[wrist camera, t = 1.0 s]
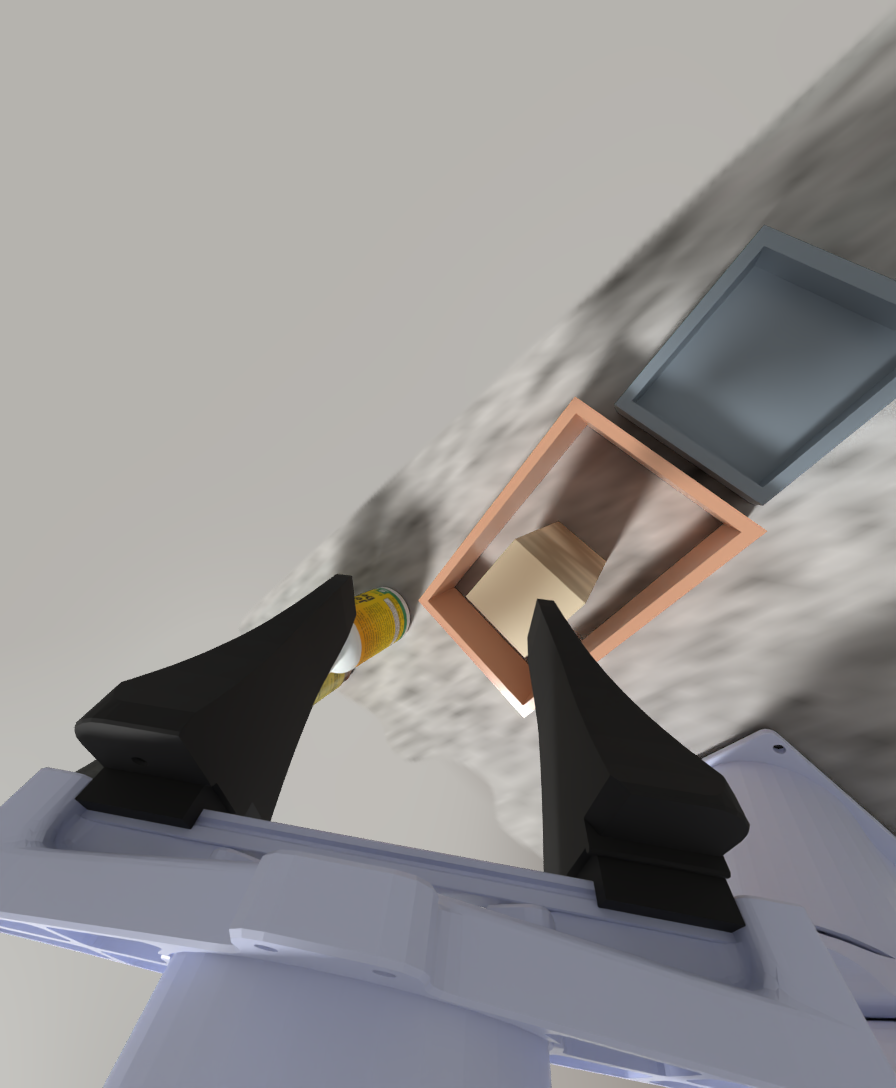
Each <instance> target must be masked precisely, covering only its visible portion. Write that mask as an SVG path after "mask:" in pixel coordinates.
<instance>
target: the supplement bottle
mask: <svg viewBox="0 0 896 1088" xmlns="http://www.w3.org/2000/svg"><path fill="white" fill-rule="evenodd" d="M354 598H355V606H356V618H355V620H354V623H353V626H352V629H351V631H350V634H349V636H348V638H347V640H346V642H345V644H344V646H343V648H342V650H341V652H340V654H339V656H338V657H337V659H336V661H335V663H334V665H333V667H332V669H331V670H330V672H333V673H345V672H348V671H350V670H352V669H354V668H355V667H357V666H358V665H360V664H362V663H363V662H365V661H366V660H368V659H369V658H371V657H373V656H374V655H376V654H377V653H379V652H381V651H382V650H384V649H385V648H387V647H388V646H390V645H392V644H393V643H395V642H397V641H398V640H400V639H401V638H402V637H403V636H404V635H405V634H406V632H407V630H408V627H409V623H410V613H409V609H408V607H407V604H406V602H405V601H404V599H403V598H402V597H401V595H400V594H398V593H397V592H396V591H394V590H392V589H390V588H387V587H379V588H376V589H373V590H370V591H368V592H365V593H363V594H360V595H357V596H355V597H354ZM330 672H329V673H330Z"/></svg>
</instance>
